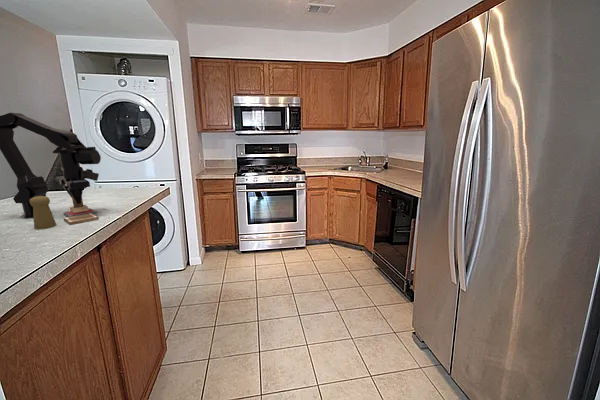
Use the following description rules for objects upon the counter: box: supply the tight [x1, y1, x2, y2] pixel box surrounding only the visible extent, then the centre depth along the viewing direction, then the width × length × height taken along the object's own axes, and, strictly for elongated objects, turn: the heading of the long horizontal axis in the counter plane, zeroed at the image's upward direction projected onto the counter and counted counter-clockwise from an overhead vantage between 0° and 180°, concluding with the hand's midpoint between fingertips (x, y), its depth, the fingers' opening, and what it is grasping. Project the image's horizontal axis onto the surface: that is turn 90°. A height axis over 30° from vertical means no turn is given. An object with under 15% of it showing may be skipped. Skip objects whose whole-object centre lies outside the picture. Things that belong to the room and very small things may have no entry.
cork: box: [30, 195, 57, 230], centre depth 101 cm, size 6×6×11 cm
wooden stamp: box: [69, 196, 89, 214], centre depth 117 cm, size 5×5×9 cm
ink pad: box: [63, 207, 98, 218], centre depth 118 cm, size 9×9×1 cm
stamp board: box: [63, 213, 100, 226], centre depth 110 cm, size 9×9×1 cm
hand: (78, 203), depth 117 cm, fingers closed on wooden stamp, 3 cm apart
